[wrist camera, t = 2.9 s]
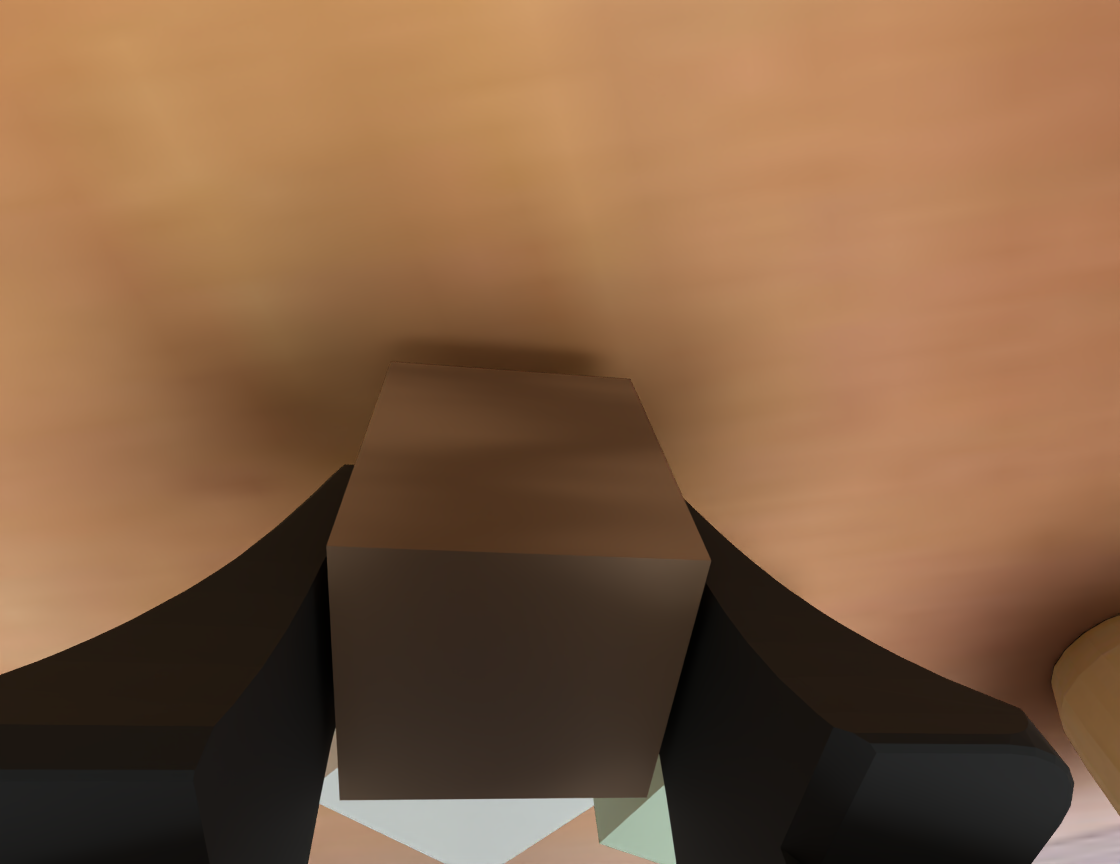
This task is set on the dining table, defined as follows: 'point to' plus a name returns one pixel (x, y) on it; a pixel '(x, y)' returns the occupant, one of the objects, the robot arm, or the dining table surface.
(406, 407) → the walnut block
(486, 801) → the ceramic slab
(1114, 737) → the ice cream cone
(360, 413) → the dining table surface
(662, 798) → the sage block
